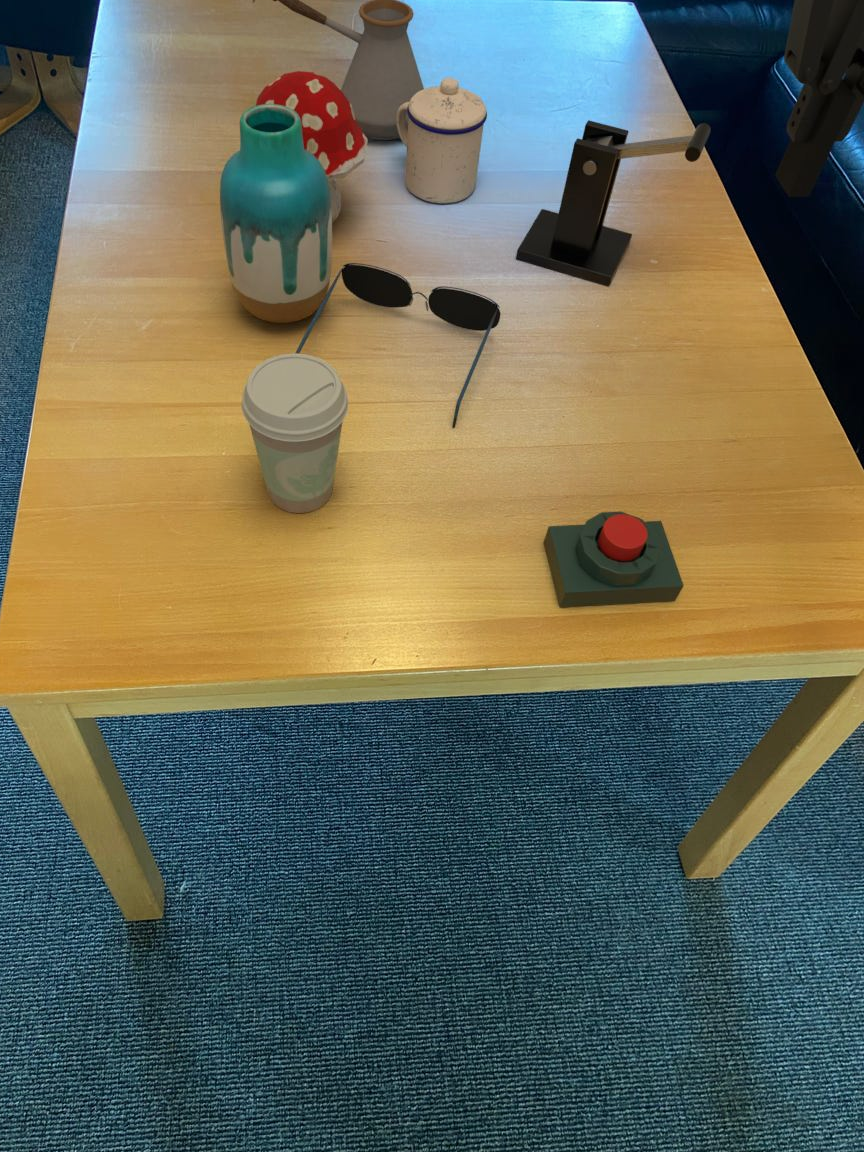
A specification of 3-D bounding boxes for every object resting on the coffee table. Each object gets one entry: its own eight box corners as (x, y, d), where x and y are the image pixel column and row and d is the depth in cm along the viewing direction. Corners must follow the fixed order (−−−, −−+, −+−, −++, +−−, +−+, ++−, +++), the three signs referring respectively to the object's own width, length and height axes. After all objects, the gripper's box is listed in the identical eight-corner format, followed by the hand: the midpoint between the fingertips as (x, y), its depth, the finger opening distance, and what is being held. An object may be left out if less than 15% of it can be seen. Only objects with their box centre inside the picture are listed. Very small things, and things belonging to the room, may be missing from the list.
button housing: (653, 536, 76) (668, 506, 73) (675, 601, 72) (691, 572, 69) (543, 542, 75) (552, 512, 72) (559, 607, 71) (570, 579, 68)
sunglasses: (498, 336, 90) (504, 298, 85) (454, 442, 84) (458, 408, 79) (344, 294, 92) (342, 256, 88) (292, 395, 86) (286, 359, 82)
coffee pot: (425, 104, 115) (435, -30, 102) (426, 150, 108) (438, 14, 96) (265, 96, 114) (255, -39, 101) (257, 142, 108) (246, 4, 95)
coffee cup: (262, 533, 74) (250, 431, 64) (244, 462, 79) (230, 356, 69) (358, 515, 76) (360, 413, 66) (335, 447, 80) (334, 341, 70)
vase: (226, 338, 88) (200, 147, 72) (238, 274, 93) (217, 84, 77) (329, 343, 88) (327, 155, 72) (335, 279, 94) (334, 91, 77)
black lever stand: (629, 243, 100) (664, 129, 89) (609, 286, 95) (643, 172, 84) (539, 218, 102) (563, 103, 91) (515, 259, 97) (537, 143, 86)
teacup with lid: (492, 186, 105) (507, 83, 95) (442, 215, 101) (452, 111, 91) (421, 146, 109) (429, 44, 99) (370, 172, 105) (373, 68, 95)
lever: (710, 142, 86) (710, 116, 84) (700, 166, 84) (699, 140, 82) (592, 156, 92) (589, 132, 90) (578, 179, 89) (576, 155, 88)
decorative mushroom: (254, 258, 95) (240, 116, 82) (240, 187, 102) (226, 47, 90) (377, 248, 97) (382, 107, 84) (355, 179, 104) (357, 41, 92)
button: (635, 526, 72) (641, 512, 70) (646, 560, 70) (653, 547, 68) (593, 528, 71) (598, 514, 70) (603, 563, 70) (609, 549, 68)
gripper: (1096, -322, 43) (857, 154, 63) (852, -331, 42) (687, 158, 62) (1188, -280, 39) (901, 214, 59) (920, -289, 38) (720, 219, 58)
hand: (792, 185), depth 60 cm, fingers closed
